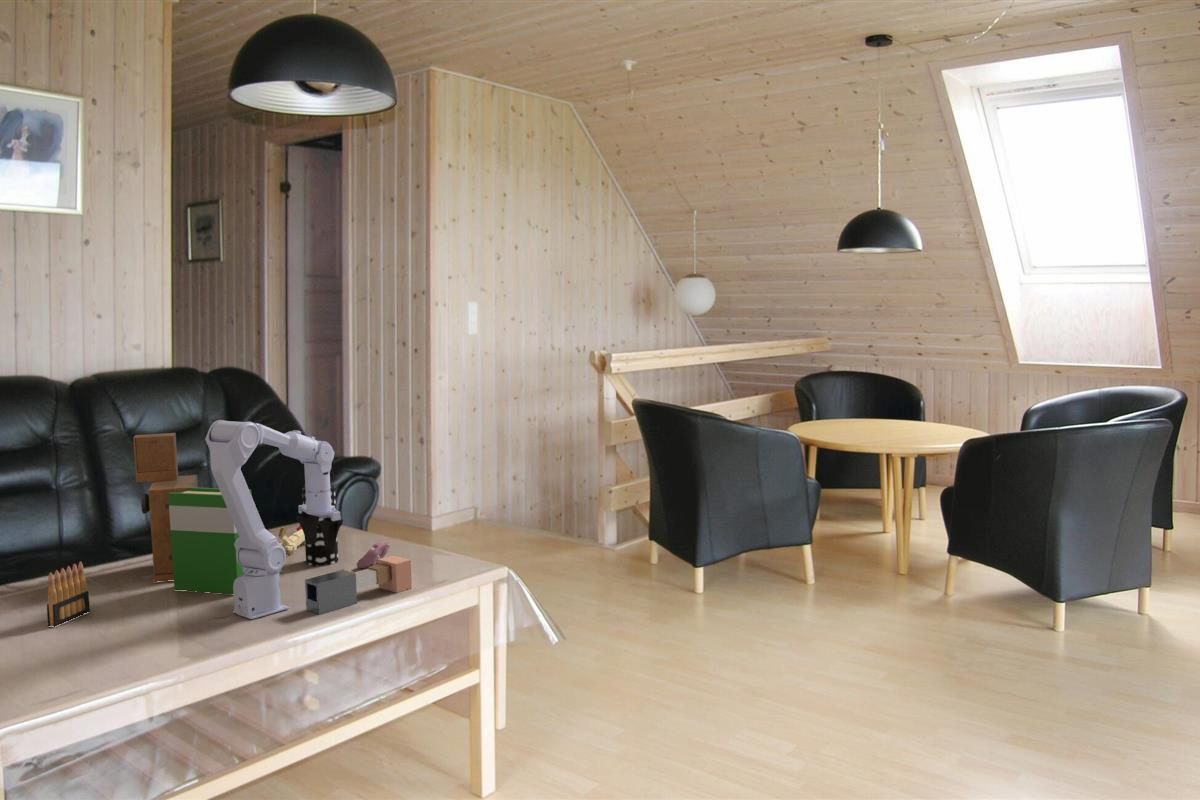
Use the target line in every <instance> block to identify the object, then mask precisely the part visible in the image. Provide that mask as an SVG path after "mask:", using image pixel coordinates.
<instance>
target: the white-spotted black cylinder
mask: <svg viewBox="0 0 1200 800" xmlns="http://www.w3.org/2000/svg"><path fill="white" fill-rule="evenodd" d="M301 491H302V492H301V493H302V505H303V504H306V488H305V486H304V487H303V488H302V489H301ZM330 491H331V505H332V506H335V510H337V505H336V504H337V502H336V500H337V499H336V486H335V485H332V484H330ZM322 520H326V518H323V517H320V518H319V521H322ZM338 545H339V543H338V537H337V538H336V542H335V547H334V548H332V549H328V550H327V549H325V545H324V538H323V533H322V530H321V527H320V525H319V523H318V526H317V540H316V543H314V544H310V545H308V544H307V542H306V539H305V541H304V548H305V549H304V550H305V551H304V553H305V565H307V566H310V565H312V566H311V567H324V566H330V564H331V565H333V564H336V563H337V562H339V547H338Z"/></svg>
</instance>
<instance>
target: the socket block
mask: <svg viewBox="0 0 1200 800" xmlns="http://www.w3.org/2000/svg"><path fill="white" fill-rule="evenodd" d="M377 564H384V565H389V566H391V573H392V577H391V578H390V581H389V582H385V583H382V584H378V589H382V590H385V591H390V592H393V593H396V594H398V593H401V592H405V591H408V590H407V589H409V590H411V589H410V588H412V565H411V564H412V561H411V559H408V558H404V557H400V556H396V555H389V556H384V557H383V558H381V559H378V563H377Z"/></svg>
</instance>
